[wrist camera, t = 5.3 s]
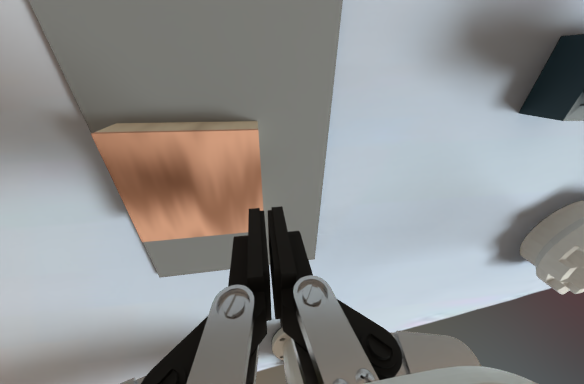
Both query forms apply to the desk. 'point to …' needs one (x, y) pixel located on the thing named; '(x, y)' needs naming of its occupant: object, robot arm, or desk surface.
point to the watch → (560, 83)
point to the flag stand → (558, 249)
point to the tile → (185, 176)
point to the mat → (210, 89)
